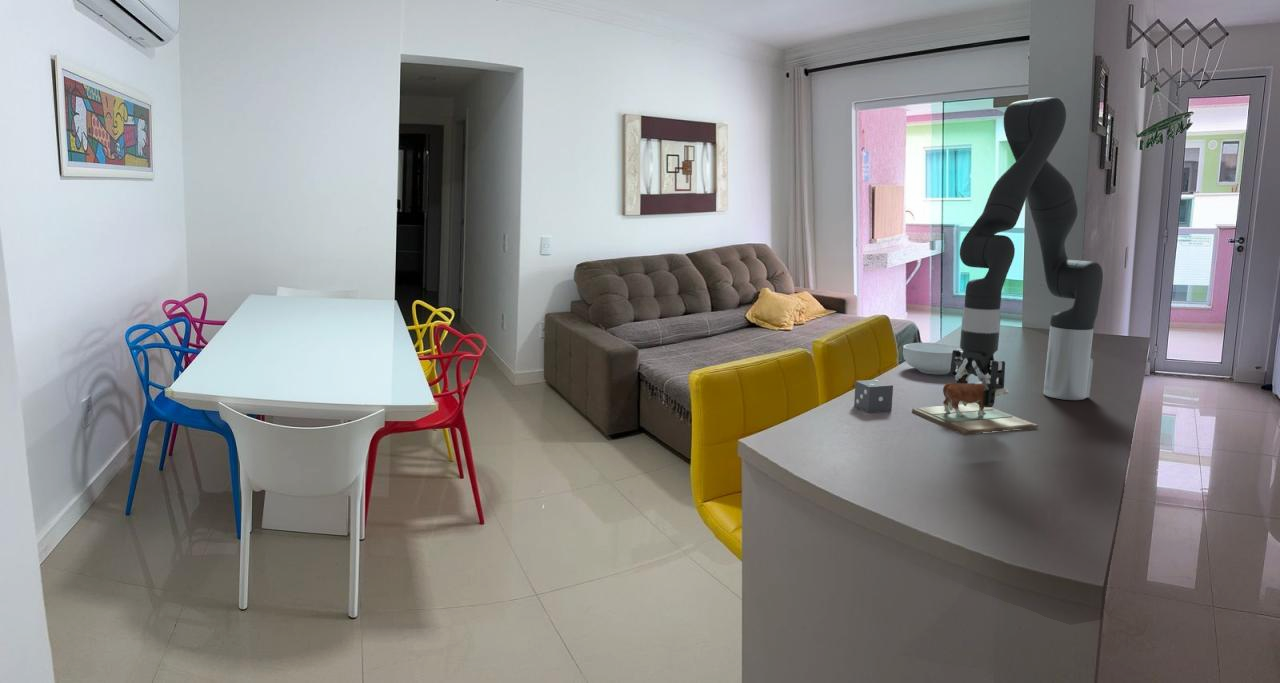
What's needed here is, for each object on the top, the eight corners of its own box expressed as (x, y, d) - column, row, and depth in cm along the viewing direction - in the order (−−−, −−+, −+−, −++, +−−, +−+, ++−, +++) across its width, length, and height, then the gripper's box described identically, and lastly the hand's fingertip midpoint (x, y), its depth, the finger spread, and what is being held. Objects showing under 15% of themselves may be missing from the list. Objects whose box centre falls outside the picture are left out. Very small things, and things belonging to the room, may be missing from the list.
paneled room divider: (979, 406, 180) (979, 402, 180) (1037, 428, 163) (1038, 424, 163) (912, 412, 175) (912, 407, 175) (964, 435, 158) (965, 430, 158)
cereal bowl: (964, 368, 221) (966, 343, 220) (968, 380, 206) (970, 354, 205) (901, 363, 227) (903, 340, 226) (901, 375, 212) (902, 350, 210)
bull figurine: (1007, 419, 166) (1011, 382, 165) (942, 416, 168) (945, 380, 167) (1001, 413, 171) (1004, 377, 169) (937, 411, 172) (940, 375, 171)
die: (876, 404, 182) (878, 379, 181) (891, 411, 176) (893, 385, 175) (853, 406, 180) (855, 380, 179) (868, 412, 174) (869, 386, 173)
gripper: (1019, 333, 160) (1012, 409, 163) (972, 322, 173) (966, 393, 176) (988, 334, 158) (981, 411, 161) (943, 324, 171) (938, 395, 174)
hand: (974, 401), depth 168 cm, fingers open, 8 cm apart
